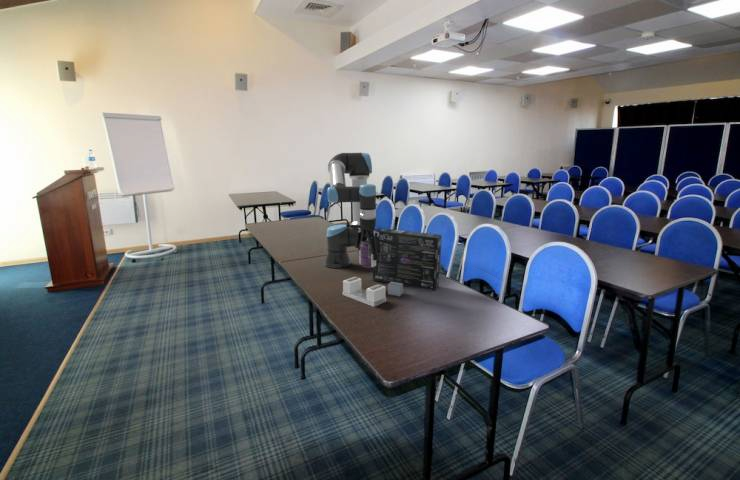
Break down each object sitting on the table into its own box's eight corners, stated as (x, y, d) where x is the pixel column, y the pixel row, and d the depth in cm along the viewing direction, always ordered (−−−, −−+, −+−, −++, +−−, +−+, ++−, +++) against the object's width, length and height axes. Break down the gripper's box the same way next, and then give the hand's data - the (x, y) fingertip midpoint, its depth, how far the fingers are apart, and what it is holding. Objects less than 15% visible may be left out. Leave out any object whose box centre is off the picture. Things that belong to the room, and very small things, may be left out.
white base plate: (354, 290, 177) (354, 286, 177) (386, 301, 164) (386, 297, 163) (342, 294, 171) (342, 290, 171) (374, 306, 158) (374, 302, 158)
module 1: (354, 286, 176) (354, 275, 175) (361, 288, 173) (361, 277, 172) (343, 290, 171) (342, 279, 170) (349, 293, 168) (349, 281, 167)
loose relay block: (391, 291, 176) (391, 281, 175) (402, 293, 173) (402, 283, 172) (387, 294, 173) (387, 284, 171) (399, 296, 170) (399, 286, 169)
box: (439, 286, 183) (441, 233, 176) (435, 291, 176) (437, 236, 170) (377, 276, 196) (378, 227, 190) (372, 281, 190) (372, 230, 184)
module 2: (378, 294, 166) (378, 283, 165) (385, 297, 163) (385, 285, 162) (366, 299, 161) (366, 287, 160) (373, 302, 158) (374, 290, 157)
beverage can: (376, 264, 179) (377, 240, 176) (372, 268, 173) (372, 244, 170) (363, 262, 182) (363, 239, 178) (358, 267, 175) (358, 243, 172)
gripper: (347, 216, 175) (347, 261, 181) (378, 222, 162) (377, 271, 168) (358, 214, 180) (358, 258, 186) (389, 219, 167) (388, 267, 173)
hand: (367, 264), depth 177 cm, fingers closed on beverage can, 7 cm apart
